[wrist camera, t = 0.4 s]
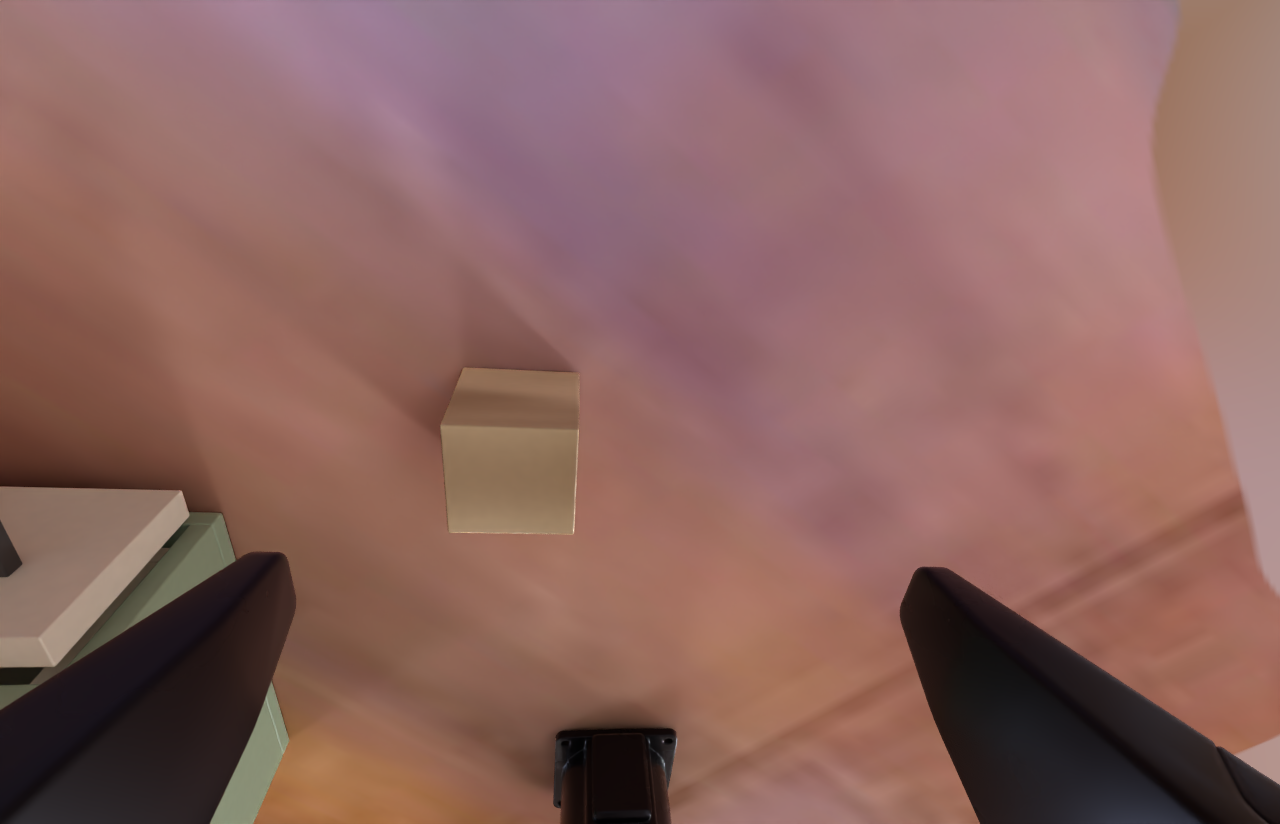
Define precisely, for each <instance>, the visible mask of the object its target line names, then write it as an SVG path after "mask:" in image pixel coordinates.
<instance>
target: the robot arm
mask: <svg viewBox="0 0 1280 824" xmlns="http://www.w3.org/2000/svg"><path fill="white" fill-rule="evenodd" d="M295 609H296V595H295V590H294V585H293V581H292V576H291V572H290V567H289V562H288V559H287V557H286V556H285V555H284V554H283V553H280V552H250V553H248V554H246V555H244V556H242V557H241V558H239V559H238V560H236V561H234V562H233V563H231V564H230V565H228V566H226V567H225V568H223V569H222V570H220V571H219V572H217V573H215V574H214V575H212V576H211V577H209V578H208V579H206V580H204V581H203V582H201V583H200V584H198V585H196V586H195V587H193V588H192V589H190V590H189V591H187V592H185V593H184V594H182V595H181V596H179V597H177V598H176V599H174V600H173V601H171V602H170V603H168V604H166V605H165V606H163V607H162V608H160V609H159V610H157V611H155V612H154V613H152V614H151V615H149V616H147V617H146V618H144V619H143V620H141V621H140V622H138V623H136V624H135V625H133V626H132V627H130V628H129V629H127V630H125V631H124V632H122V633H121V634H119V635H117V636H116V637H114V638H113V639H111V640H110V641H108V642H106V643H105V644H103V645H102V646H100V647H99V648H97V649H95V650H94V651H92V652H91V653H89V654H87V655H86V656H84V657H83V658H81V659H80V660H78V661H76V662H75V663H73V664H72V665H70V666H68V667H67V668H65V669H64V670H62V671H61V672H59V673H57V674H56V675H54V676H53V677H51V678H50V679H48V680H46V681H45V682H43V683H42V684H40V685H38V686H37V687H35V688H34V689H32V690H31V691H29V692H27V693H26V694H24V695H23V696H21V697H20V698H18V699H16V700H15V701H13V702H12V703H10V704H8V705H7V706H5V707H4V708H2V709H1V710H0V824H210V822H211V820H212V818H213V816H214V814H215V812H216V809H217V807H218V805H219V803H220V801H221V799H222V797H223V795H224V792H225V790H226V788H227V786H228V784H229V782H230V780H231V778H232V776H233V773H234V771H235V769H236V767H237V765H238V763H239V761H240V759H241V756H242V754H243V752H244V750H245V748H246V746H247V744H248V741H249V739H250V737H251V734H252V732H253V730H254V728H255V725H256V723H257V720H258V717H259V715H260V712H261V709H262V707H263V704H264V701H265V698H266V695H267V692H268V689H269V686H270V684H271V681H272V678H273V675H274V672H275V669H276V666H277V663H278V660H279V658H280V655H281V652H282V649H283V646H284V643H285V640H286V637H287V634H288V632H289V629H290V626H291V623H292V620H293V617H294V614H295ZM900 620H901V624H902V627H903V630H904V633H905V636H906V639H907V642H908V645H909V648H910V651H911V654H912V657H913V660H914V663H915V666H916V669H917V672H918V675H919V678H920V681H921V684H922V686H923V689H924V692H925V695H926V698H927V701H928V704H929V707H930V710H931V712H932V715H933V718H934V720H935V723H936V725H937V727H938V730H939V732H940V735H941V737H942V739H943V741H944V744H945V746H946V748H947V750H948V753H949V755H950V757H951V759H952V761H953V764H954V766H955V768H956V770H957V773H958V775H959V777H960V779H961V782H962V784H963V786H964V788H965V791H966V793H967V795H968V797H969V800H970V802H971V804H972V806H973V808H974V811H975V813H976V815H977V817H978V820H979V822H980V824H1280V785H1279V784H1277V783H1276V782H1274V781H1273V780H1271V779H1270V778H1268V777H1267V776H1265V775H1263V774H1262V773H1260V772H1259V771H1257V770H1256V769H1254V768H1253V767H1251V766H1250V765H1248V764H1246V763H1245V762H1243V761H1242V760H1240V759H1239V758H1237V757H1236V756H1234V755H1233V754H1231V753H1230V752H1228V751H1227V750H1225V749H1224V748H1222V747H1216V746H1215V744H1214V743H1213V742H1212V741H1211V740H1210V739H1208V738H1207V737H1205V736H1204V735H1202V734H1200V733H1199V732H1197V731H1196V730H1194V729H1193V728H1191V727H1190V726H1188V725H1187V724H1185V723H1184V722H1182V721H1181V720H1179V719H1178V718H1176V717H1174V716H1173V715H1171V714H1170V713H1168V712H1167V711H1165V710H1164V709H1162V708H1161V707H1159V706H1158V705H1156V704H1155V703H1153V702H1152V701H1150V700H1148V699H1147V698H1145V697H1144V696H1142V695H1141V694H1139V693H1138V692H1136V691H1135V690H1133V689H1132V688H1130V687H1129V686H1127V685H1125V684H1124V683H1122V682H1121V681H1119V680H1118V679H1116V678H1115V677H1113V676H1112V675H1110V674H1109V673H1107V672H1106V671H1104V670H1103V669H1101V668H1099V667H1098V666H1096V665H1095V664H1093V663H1092V662H1090V661H1089V660H1087V659H1086V658H1084V657H1083V656H1081V655H1080V654H1078V653H1077V652H1075V651H1073V650H1072V649H1070V648H1069V647H1067V646H1066V645H1064V644H1063V643H1061V642H1060V641H1058V640H1057V639H1055V638H1054V637H1052V636H1050V635H1049V634H1047V633H1046V632H1044V631H1043V630H1041V629H1040V628H1038V627H1037V626H1035V625H1034V624H1032V623H1031V622H1029V621H1028V620H1026V619H1024V618H1023V617H1021V616H1020V615H1018V614H1017V613H1015V612H1014V611H1012V610H1011V609H1009V608H1008V607H1006V606H1005V605H1003V604H1002V603H1000V602H998V601H997V600H995V599H994V598H992V597H991V596H989V595H988V594H986V593H985V592H983V591H982V590H980V589H979V588H977V587H976V586H974V585H972V584H971V583H969V582H968V581H966V580H965V579H963V578H962V577H960V576H959V575H957V574H956V573H954V572H953V571H951V570H949V569H947V568H944V567H920V568H918V569H917V570H916V571H915V572H914V574H913V577H912V579H911V581H910V584H909V586H908V589H907V591H906V593H905V596H904V598H903V601H902V603H901V606H900ZM676 745H677V736H676V731H675V730H673V729H669V728H666V729H622V730H578V731H562V732H559V733H558V734H557V735H556V749H555V775H554V801H553V804H554V806H555V807H557V808H561V822H560V824H671V816H670V807H669V799H668V787H669V781H670V776H671V771H672V766H673V760H674V755H675V750H676Z"/></svg>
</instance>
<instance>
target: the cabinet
mask: <svg viewBox="0 0 1280 824" xmlns="http://www.w3.org/2000/svg"><path fill="white" fill-rule="evenodd" d="M161 548H170V549H169V550H168V551H167V552H166V553H165V554H164V556H163V557H162V558H161V559H160V560H159V561H158V562H157V564H156V565H155V566H154V567H153V568H152V569H151V570H150V572H149V573H148V574H147V575H146V576H145V577H144V578H143V580H142V581H141V582H140V583H139V584H138V585H137V587H136V588H135V589H134V590H133V591H132V592H131V593H130V595H129V596H128V597H127V598H126V599H125V600H124V601H123V603H122V604H121V605H120V606H119V607H118V608H117V609H116V611H115V612H114V613H113V614H112V615H111V616H110V617H109V619H108V620H107V621H106V622H105V623H104V624H103V625H102V627H101V628H100V629H99V630H98V631H97V632H96V634H95V635H94V636H93V637H92V638H91V639H90V640H89V642H88V643H87V644H86V645H85V646H84V647H83V648H82V650H81V651H80V652H79V653H78V654H77V655H76V656H75V658H74V659H73V660H72V661H71V662H70V663H69V664H68V666H70V665H72V664H73V663H75V662H76V661H78V660H80V659H81V658H83V657H84V656H86V655H87V654H89V653H91V652H92V651H94V650H95V649H97V648H99V647H100V646H102V645H103V644H105V643H106V642H108V641H110V640H111V639H113V638H114V637H116V636H117V635H119V634H121V633H122V632H124V631H125V630H127V629H129V628H130V627H132V626H133V625H135V624H136V623H138V622H140V621H141V620H143V619H144V618H146V617H147V616H149V615H151V614H152V613H154V612H155V611H157V610H159V609H160V608H162V607H163V606H165V605H166V604H168V603H170V602H171V601H173V600H174V599H176V598H177V597H179V596H181V595H182V594H184V593H185V592H187V591H189V590H190V589H192V588H193V587H195V586H196V585H198V584H200V583H201V582H203V581H204V580H206V579H208V578H209V577H211V576H212V575H214V574H215V573H217V572H219V571H220V570H222V569H223V568H225V567H226V566H228V565H230V564H231V563H233V562H234V561H236V559H235V555H234V552H233V548H232V545H231V542H230V538H229V535H228V531H227V528H226V525H225V521H224V518H223V515H222V513H211V512H189V517H188V518H187V519H186V520H185V522H184V523H183V524H182V525H181V526H180V527H179V528H178V529H177V530H176V532H175V533H174V534H173V535H172V536H171V537H170V538H169V539H168V541H167V542H166V543H165V544H164V545H163V546H162V547H161ZM68 666H67V667H68ZM67 667H66V668H67ZM38 685H40V684H30V685H0V710H1V709H2V708H4V707H5V706H7V705H8V704H10V703H12V702H13V701H15V700H16V699H18V698H20V697H21V696H23V695H24V694H26V693H27V692H29V691H31V690H32V689H34V688H35V687H37V686H38ZM288 742H289V738H288V734H287V731H286V727H285V724H284V721H283V717H282V714H281V711H280V707H279V704H278V700H277V697H276V694H275V690H274V687H273V684H272V681H271V684H270V686H269V689H268V692H267V695H266V698H265V701H264V704H263V707H262V709H261V712H260V715H259V717H258V720H257V723H256V725H255V728H254V730H253V732H252V734H251V737H250V739H249V741H248V744H247V746H246V748H245V750H244V752H243V754H242V756H241V759H240V761H239V763H238V765H237V767H236V769H235V771H234V773H233V776H232V778H231V780H230V782H229V784H228V786H227V788H226V790H225V792H224V795H223V797H222V799H221V801H220V803H219V805H218V807H217V809H216V812H215V814H214V816H213V818H212V820H211V822H210V824H253V823H254V820H255V818H256V816H257V813H258V811H259V809H260V807H261V804H262V802H263V800H264V797H265V795H266V793H267V791H268V788H269V786H270V784H271V782H272V779H273V777H274V775H275V772H276V770H277V768H278V766H279V763H280V761H281V759H282V757H283V753H284V751H285V749H286V747H287V744H288Z"/></svg>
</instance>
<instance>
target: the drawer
mask: <svg viewBox="0 0 1280 824" xmlns="http://www.w3.org/2000/svg"><path fill="white" fill-rule="evenodd" d="M188 517H189V512H188V509H187V506H186V502H185V499H184V496H183V493H182V491H181V490H139V489H92V488H45V487H0V685H30V684H42V683H43V682H45V681H46V680H48V679H50V678H51V677H53V676H54V675H56V674H57V673H59V672H61V671H62V670H64V669H65V668H66V667H67V666H68V664H69V663H70V662H71V661H72V660H73V659H74V658H75V656H76V655H77V654H78V653H79V652H80V651H81V650H82V648H83V647H84V646H85V645H86V644H87V643H88V642H89V640H90V639H91V638H92V637H93V636H94V635H95V634H96V632H97V631H98V630H99V629H100V628H101V627H102V625H103V624H104V623H105V622H106V621H107V620H108V619H109V617H110V616H111V615H112V614H113V613H114V612H115V611H116V609H117V608H118V607H119V606H120V605H121V604H122V603H123V601H124V600H125V599H126V598H127V597H128V596H129V595H130V593H131V592H132V591H133V590H134V589H135V588H136V587H137V585H138V584H139V583H140V582H141V581H142V580H143V578H144V577H145V576H146V575H147V574H148V573H149V572H150V570H151V569H152V568H153V567H154V566H155V565H156V564H157V562H158V561H159V560H160V559H161V558H162V557H163V556H164V554H165V553H166V552H167V551H168V550H169V549H170V548H161V547H162V546H163V545H164V544H165V543H166V542H167V541H168V539H169V538H170V537H171V536H172V535H173V534H174V533H175V532H176V530H177V529H178V528H179V527H180V526H181V525H182V524H183V523H184V522H185V520H186V519H187V518H188Z"/></svg>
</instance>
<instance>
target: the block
mask: <svg viewBox="0 0 1280 824" xmlns="http://www.w3.org/2000/svg"><path fill="white" fill-rule="evenodd" d="M440 432H441V446H442V459H443V472H444V485H445V498H446V511H447V524H448V532H449V533H508V534H574V524H575V503H576V483H577V462H578V441H579V373H576V372H554V371H532V370H510V369H488V368H466V367H464V368H463V370H462V372H461V375H460V377H459V380H458V382H457V385H456V387H455V389H454V392H453V394H452V397H451V399H450V402H449V404H448V407H447V409H446V412H445V414H444V417H443V419H442V421H441V424H440Z"/></svg>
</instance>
